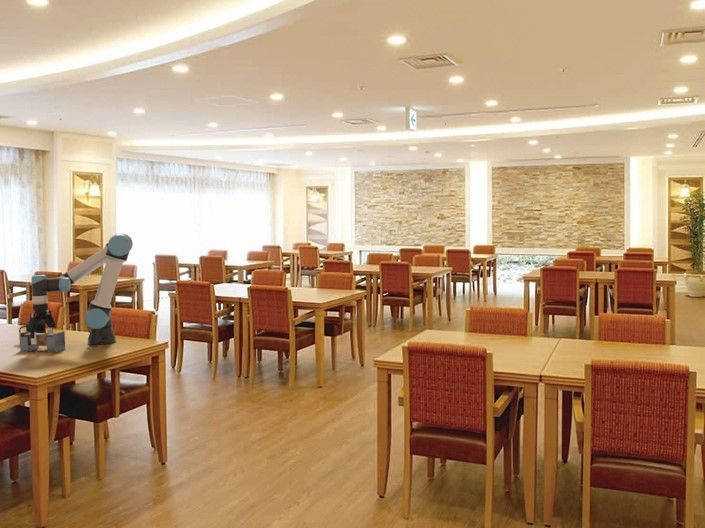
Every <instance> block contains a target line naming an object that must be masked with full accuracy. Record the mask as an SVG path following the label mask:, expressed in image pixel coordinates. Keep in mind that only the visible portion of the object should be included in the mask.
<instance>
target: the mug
mask: <svg viewBox="0 0 705 528" xmlns="http://www.w3.org/2000/svg"><path fill="white" fill-rule="evenodd" d="M29 321H30V320H29ZM29 321H25V322H24V324H25V325H22V326H20V327H19V329H18V331H19V333H22V332H21V331H22V330H21V329H23V328H24V329H25V332H26V331H27V329H28V325H29ZM46 325H47V324H46V323H45V321H44V320H41V321H40V322H39V323H38V325H37V328H36V330H35V332H36V333H47V329H46Z"/></svg>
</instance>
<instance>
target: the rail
mask: <svg viewBox="0 0 705 528" xmlns="http://www.w3.org/2000/svg"><path fill="white" fill-rule="evenodd" d="M53 334H54V332H53V333H48V332H46V333H36V341H37V344H31V336H30V333H28V334H24V337H29V345H31V346H39V347H40V346H41V347H47V340H46V337H53Z"/></svg>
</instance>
